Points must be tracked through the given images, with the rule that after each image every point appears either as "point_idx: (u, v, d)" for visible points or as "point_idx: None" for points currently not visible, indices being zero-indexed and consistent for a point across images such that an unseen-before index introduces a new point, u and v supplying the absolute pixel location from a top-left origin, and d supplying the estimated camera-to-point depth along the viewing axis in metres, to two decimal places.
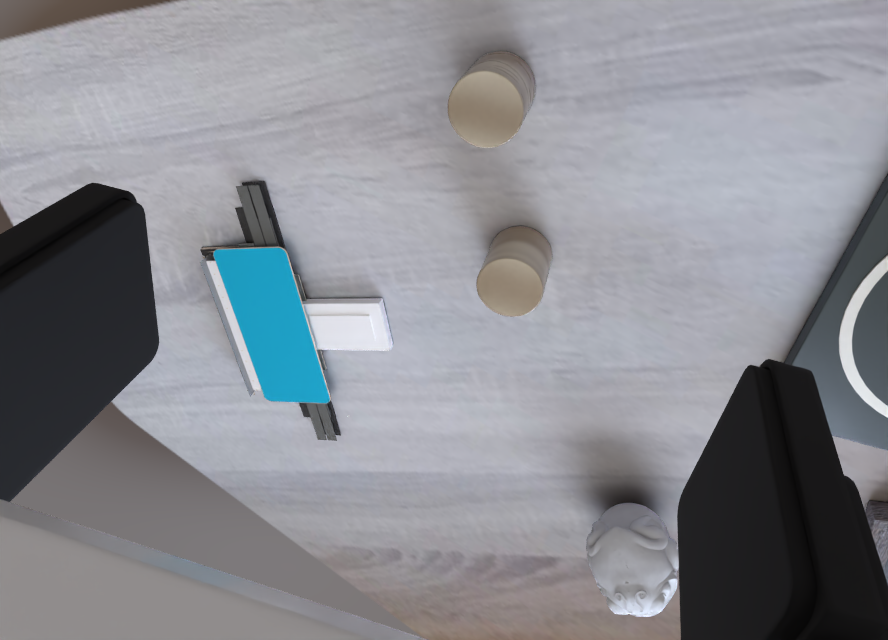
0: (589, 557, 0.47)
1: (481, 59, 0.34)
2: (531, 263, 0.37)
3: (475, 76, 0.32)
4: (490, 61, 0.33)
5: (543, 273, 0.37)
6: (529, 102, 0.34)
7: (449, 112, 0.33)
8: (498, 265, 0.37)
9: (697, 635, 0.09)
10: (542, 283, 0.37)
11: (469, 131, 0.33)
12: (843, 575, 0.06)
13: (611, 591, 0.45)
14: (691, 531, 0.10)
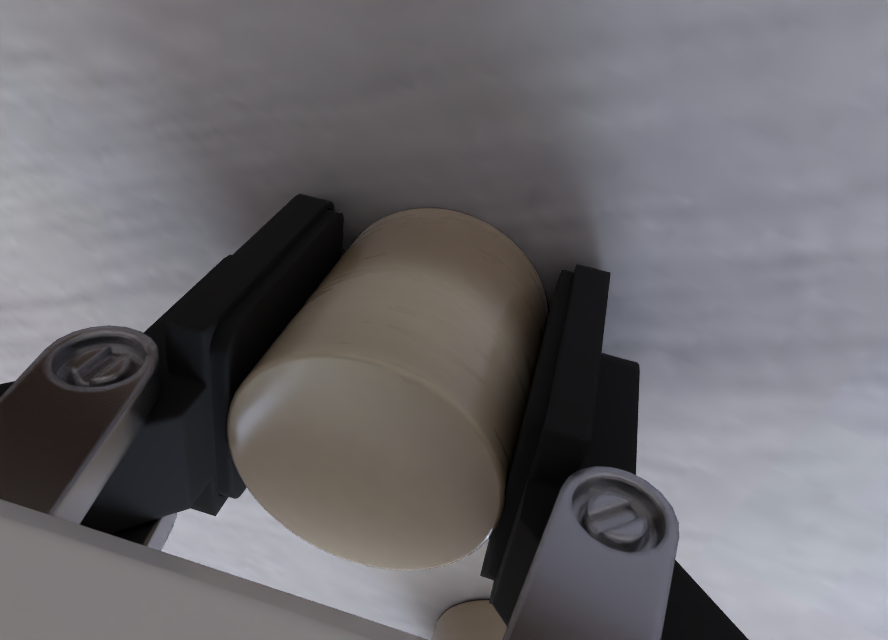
0: None
1: (366, 246, 0.10)
2: None
3: (307, 369, 0.08)
4: (385, 276, 0.09)
5: None
6: None
7: (236, 462, 0.09)
8: None
9: None
10: None
11: (313, 520, 0.09)
12: (567, 408, 0.08)
13: None
14: None
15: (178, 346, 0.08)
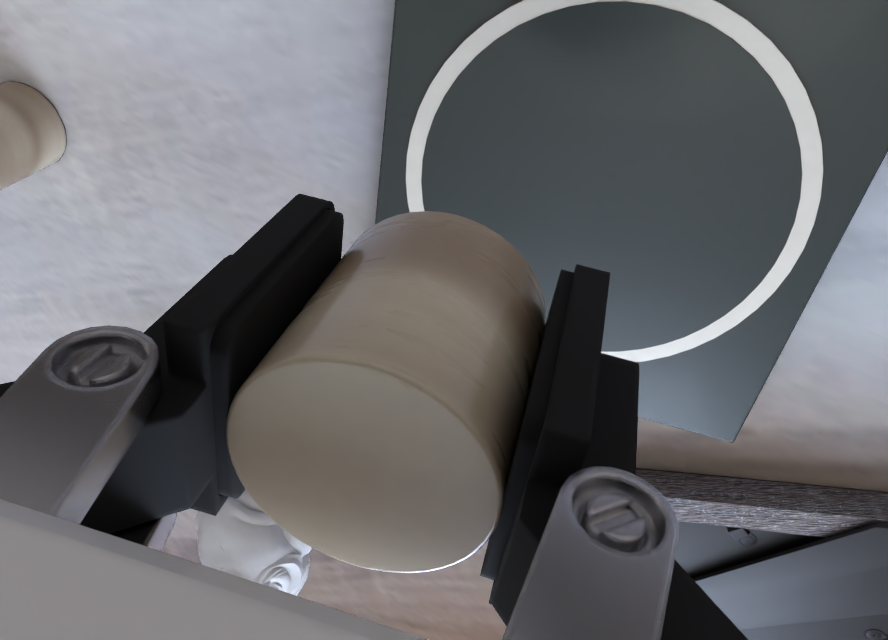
0: None
1: (365, 249, 0.10)
2: None
3: (306, 373, 0.08)
4: (384, 280, 0.09)
5: None
6: None
7: (235, 465, 0.09)
8: None
9: None
10: None
11: (313, 523, 0.09)
12: (567, 408, 0.08)
13: None
14: None
15: (178, 346, 0.08)
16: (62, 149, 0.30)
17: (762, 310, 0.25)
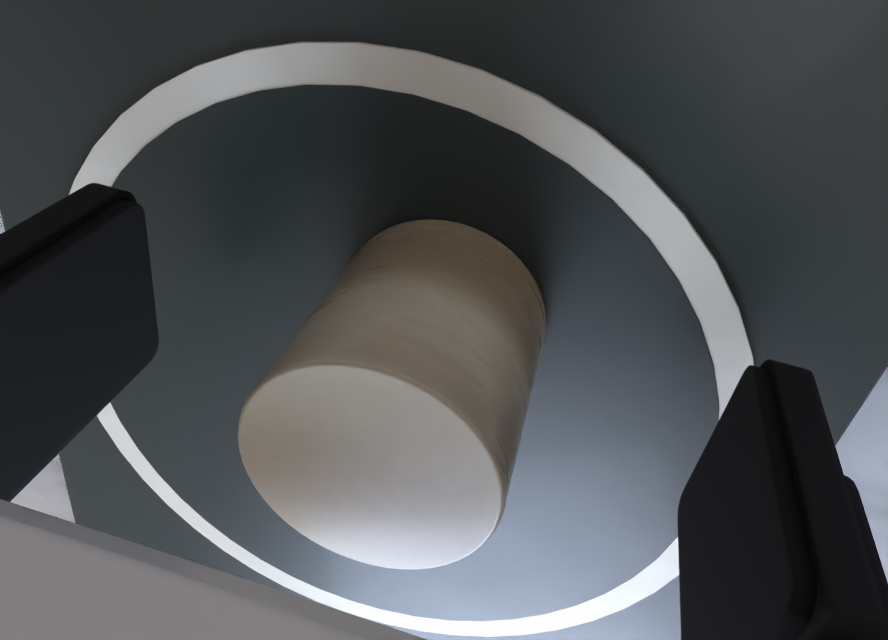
0: None
1: (372, 257, 0.11)
2: None
3: (317, 377, 0.08)
4: (390, 287, 0.09)
5: None
6: (527, 408, 0.10)
7: (247, 465, 0.09)
8: None
9: (697, 635, 0.09)
10: None
11: (321, 521, 0.10)
12: (843, 575, 0.06)
13: None
14: (691, 531, 0.10)
15: None
16: None
17: (665, 592, 0.15)
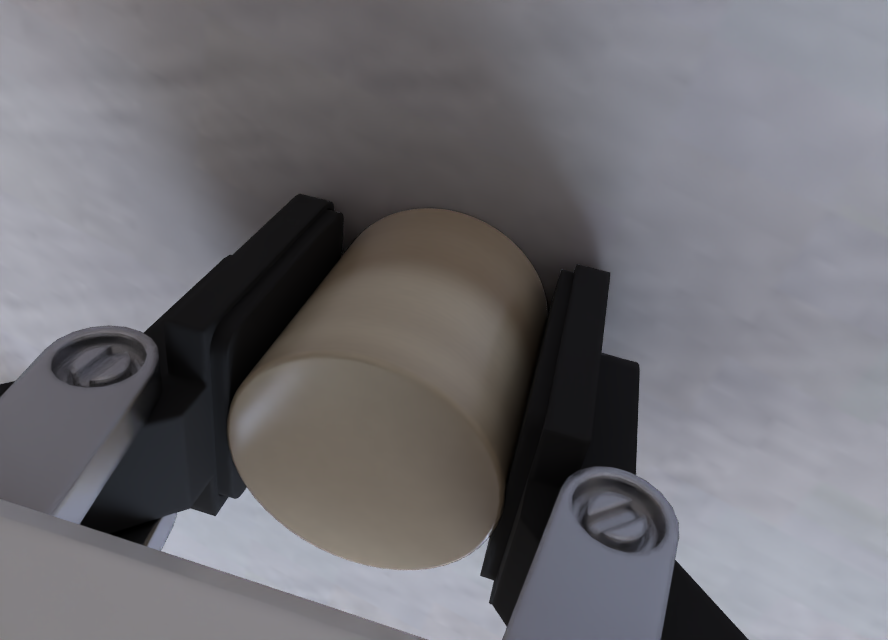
0: None
1: None
2: (451, 374, 0.08)
3: None
4: None
5: (508, 409, 0.09)
6: None
7: None
8: (296, 382, 0.08)
9: None
10: (501, 463, 0.08)
11: None
12: (567, 408, 0.08)
13: None
14: None
15: (178, 346, 0.08)
16: None
17: None
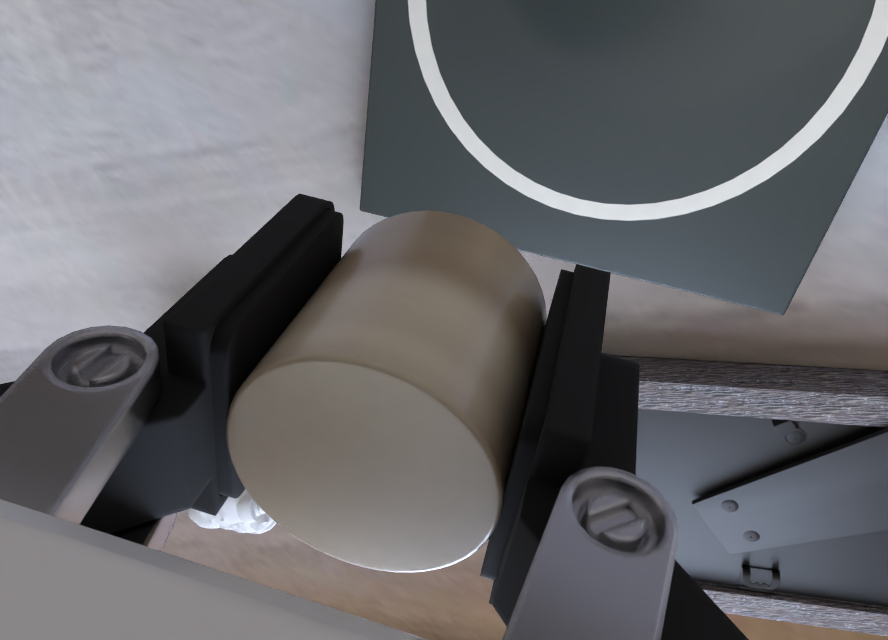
0: None
1: None
2: (449, 377, 0.08)
3: None
4: None
5: (506, 412, 0.09)
6: None
7: None
8: (296, 385, 0.08)
9: None
10: (499, 465, 0.08)
11: None
12: (567, 408, 0.08)
13: None
14: None
15: (178, 346, 0.08)
16: None
17: (825, 139, 0.21)
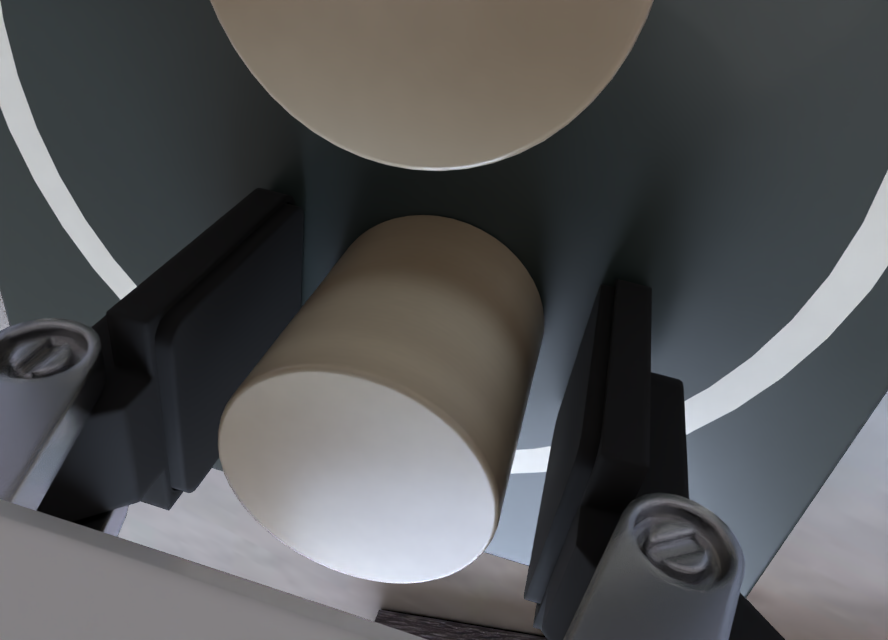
0: None
1: None
2: (444, 388, 0.08)
3: None
4: None
5: (502, 422, 0.08)
6: None
7: None
8: (287, 395, 0.08)
9: (542, 516, 0.10)
10: (495, 477, 0.08)
11: (329, 77, 0.06)
12: (622, 432, 0.08)
13: None
14: (555, 437, 0.11)
15: (122, 338, 0.08)
16: None
17: (794, 378, 0.11)
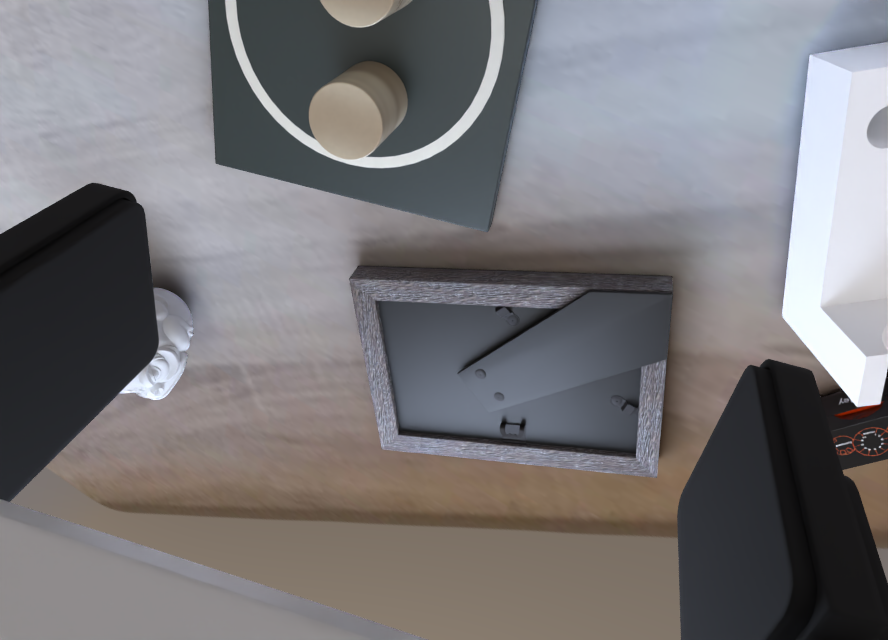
0: None
1: None
2: (367, 89, 0.31)
3: None
4: None
5: (384, 104, 0.32)
6: None
7: None
8: (328, 92, 0.31)
9: (697, 635, 0.09)
10: (381, 113, 0.31)
11: (340, 7, 0.29)
12: (843, 575, 0.06)
13: None
14: (691, 531, 0.10)
15: None
16: (402, 119, 0.35)
17: (485, 113, 0.34)
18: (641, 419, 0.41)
